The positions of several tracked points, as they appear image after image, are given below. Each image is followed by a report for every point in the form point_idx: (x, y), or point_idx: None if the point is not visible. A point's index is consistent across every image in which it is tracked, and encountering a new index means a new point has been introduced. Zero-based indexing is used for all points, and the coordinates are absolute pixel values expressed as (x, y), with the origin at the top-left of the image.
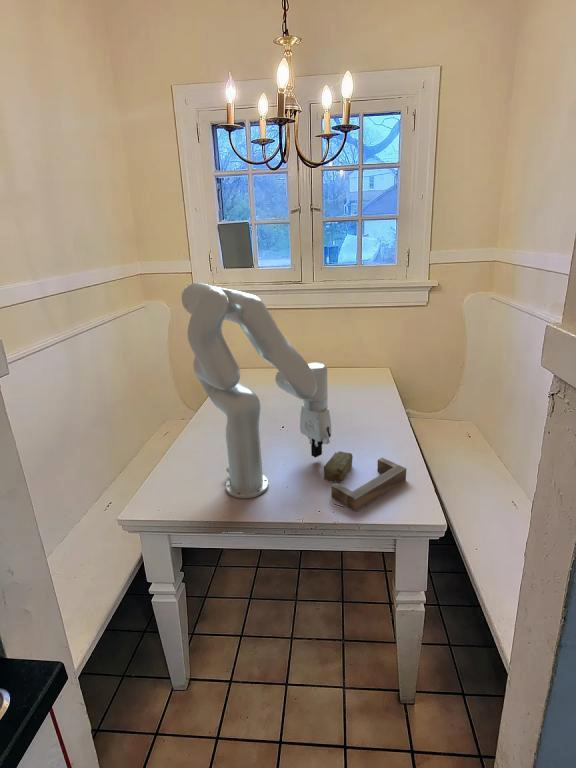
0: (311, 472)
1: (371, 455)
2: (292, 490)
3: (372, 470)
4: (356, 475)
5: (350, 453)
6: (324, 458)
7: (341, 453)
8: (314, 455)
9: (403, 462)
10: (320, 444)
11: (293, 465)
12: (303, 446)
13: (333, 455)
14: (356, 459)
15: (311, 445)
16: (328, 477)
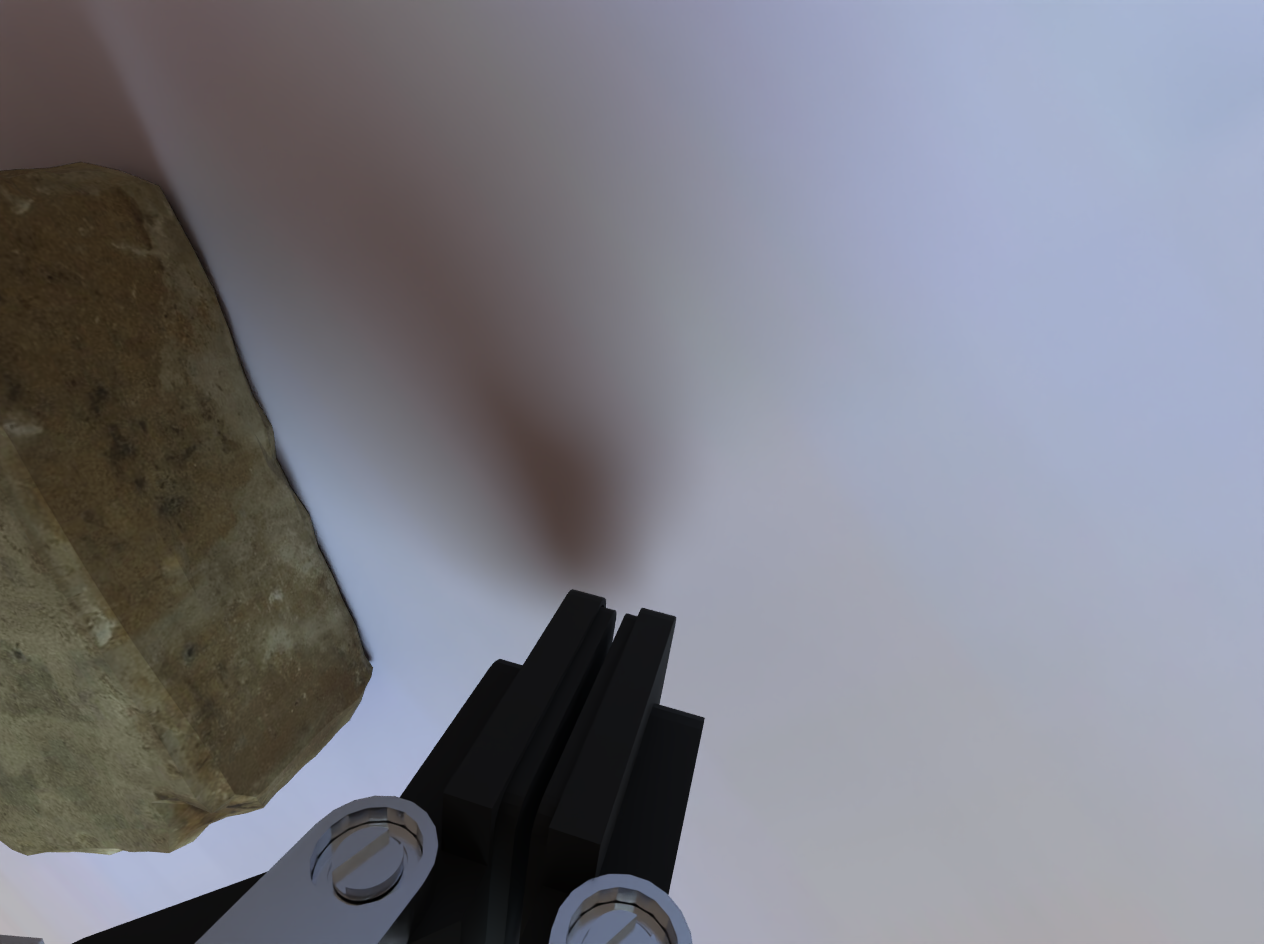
0: (467, 230)
1: None
2: None
3: None
4: None
5: (5, 843)
6: None
7: (86, 800)
8: (569, 612)
9: (13, 906)
10: (183, 903)
11: (957, 218)
12: (1167, 911)
13: (120, 693)
14: (287, 830)
15: (588, 831)
16: (9, 172)
